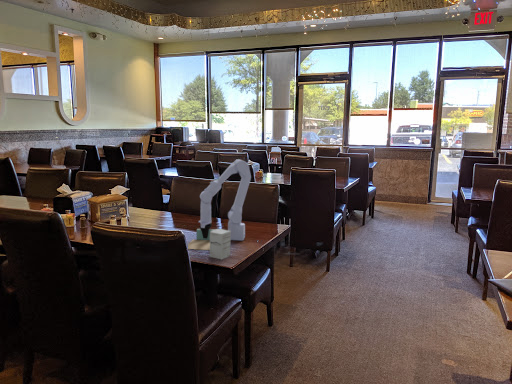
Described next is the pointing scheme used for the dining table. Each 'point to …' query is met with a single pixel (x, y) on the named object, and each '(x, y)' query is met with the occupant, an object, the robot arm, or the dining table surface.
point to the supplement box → (220, 243)
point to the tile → (200, 236)
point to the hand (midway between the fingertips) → (205, 237)
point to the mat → (199, 245)
